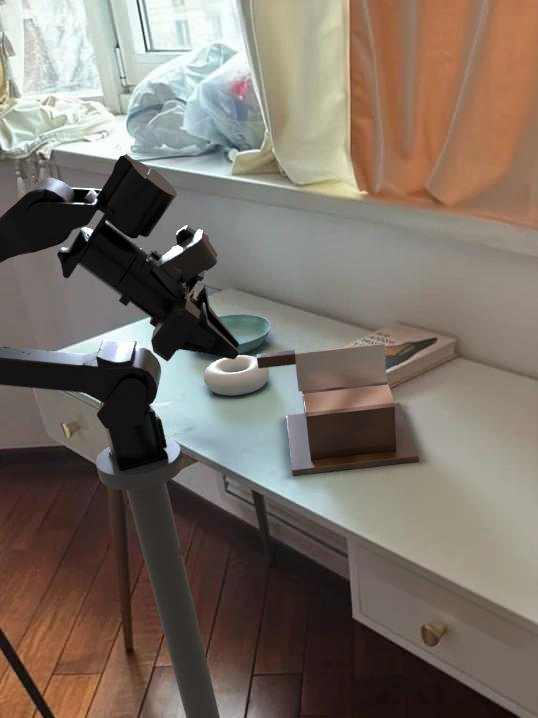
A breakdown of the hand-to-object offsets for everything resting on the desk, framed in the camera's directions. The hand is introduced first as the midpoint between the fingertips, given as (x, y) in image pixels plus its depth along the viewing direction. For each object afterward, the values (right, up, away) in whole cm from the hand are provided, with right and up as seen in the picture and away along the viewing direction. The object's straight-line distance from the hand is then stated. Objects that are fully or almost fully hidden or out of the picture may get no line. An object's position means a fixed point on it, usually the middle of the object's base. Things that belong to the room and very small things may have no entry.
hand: (237, 351), depth 104 cm
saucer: (-6, +13, +40) cm, 42 cm away
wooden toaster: (+14, -9, +9) cm, 19 cm away
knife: (+11, -4, +4) cm, 12 cm away
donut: (-3, +2, +26) cm, 26 cm away
